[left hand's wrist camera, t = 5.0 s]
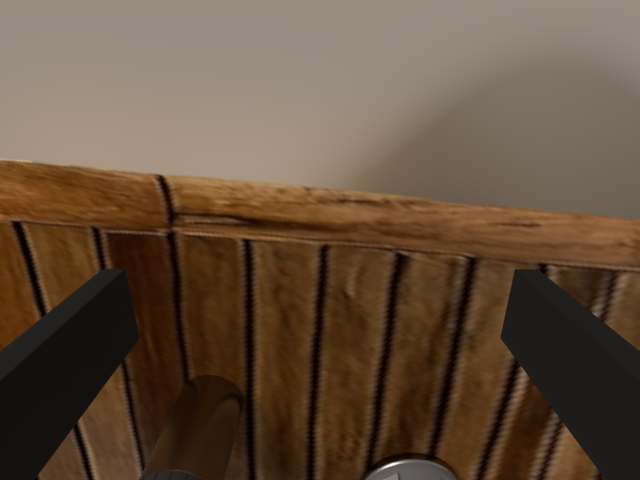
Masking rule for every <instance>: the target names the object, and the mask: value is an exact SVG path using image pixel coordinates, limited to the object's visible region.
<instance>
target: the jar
mask: <svg viewBox="0 0 640 480" xmlns="http://www.w3.org/2000/svg"><path fill="white" fill-rule="evenodd" d="M242 407H243V398H242V395H241V393H240V391H239V389H238V388H237V387H236V386H235V385H234V384H233V383H231V382H230V381H228V380H226V379H224V378H221V377H217V376H200V377H196V378H194V379H192V380H190V381H189V382H187V383H186V384H185V385H184V387H183V388H182V390H181V392H180V394H179V397H178V399H177V401H176V403H175V405H174V407H173V409H172V411H171V414H170V416H169V418H168V420H167V422H166V424H165V426H164V429H163V431H162V433H161V435H160V437H159V439H158V441H157V443H156V446H155V448H154V450H153V452H152V454H151V456H150V458H149V461H148V463H147V465H146V467H145V469H144V471H143V473H142V475H141V478H142V477H143V476H145V475H147V474H150V473H153V472H157V471H164V470H175V471H182V472H187V473H190V474H193V475H196V476H198V477H200V478H202V479H203V480H225V476H226V472H227V468H228V464H229V460H230V456H231V452H232V448H233V443H234V439H235V435H236V431H237V427H238V423H239V419H240V415H241V411H242Z"/></svg>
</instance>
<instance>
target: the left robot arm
mask: <svg viewBox="0 0 640 480" xmlns="http://www.w3.org/2000/svg"><path fill="white" fill-rule="evenodd" d="M138 339H139V333H138V329H137V324H136V319H135V314H134V310H133V305H132V300H131V295H130V291H129V286H128V281H127V276H126V272H125V269H102V270H101V271H100V272H99V273H97V274H96V275H95V276H94V277H92V278H91V279H90V280H89V281H87V282H86V283H85V284H84V285H82V286H81V287H80V288H79V289H77V290H76V291H75V292H74V293H72V294H71V295H70V296H69V297H67V298H66V299H65V300H64V301H62V302H61V303H60V304H59V305H57V306H56V307H55V308H54V309H52V310H51V311H50V312H49V313H48V314H46V315H45V316H44V317H43V318H41V319H40V320H39V321H38V322H36V323H35V324H34V325H33V326H31V327H30V328H29V329H28V330H26V331H25V332H24V333H23V334H21V335H20V336H19V337H18V338H16V339H15V340H14V341H13V342H11V343H10V344H9V345H8V346H6V347H5V348H4V349H3V350H1V351H0V480H34V479H35V478H36V477H37V475H38V474H39V473H40V471H41V470H42V469H43V467H44V466H45V465H46V463H47V462H48V461H49V459H50V458H51V457H52V455H53V454H54V453H55V451H56V450H57V448H58V447H59V446H60V444H61V443H62V442H63V440H64V439H65V438H66V436H67V435H68V434H69V432H70V431H71V430H72V428H73V427H74V426H75V424H76V423H77V422H78V420H79V419H80V417H81V416H82V415H83V413H84V412H85V411H86V409H87V408H88V407H89V405H90V404H91V403H92V401H93V400H94V399H95V397H96V396H97V395H98V393H99V392H100V391H101V389H102V388H103V386H104V385H105V384H106V382H107V381H108V380H109V378H110V377H111V376H112V374H113V373H114V372H115V370H116V369H117V368H118V366H119V365H120V364H121V362H122V361H123V360H124V358H125V357H126V355H127V354H128V353H129V351H130V350H131V349H132V347H133V346H134V345H135V343H136V342H137V341H138ZM501 339H502V341H503V342H504V343H505V345H506V346H507V347H508V349H509V350H510V351H511V353H512V354H513V355H514V357H515V358H516V360H517V361H518V362H519V364H520V365H521V366H522V368H523V369H524V370H525V372H526V373H527V374H528V376H529V377H530V378H531V380H532V381H533V382H534V384H535V385H536V386H537V388H538V389H539V391H540V392H541V393H542V395H543V396H544V397H545V399H546V400H547V401H548V403H549V404H550V405H551V407H552V408H553V409H554V411H555V412H556V413H557V415H558V416H559V417H560V419H561V420H562V422H563V423H564V424H565V426H566V427H567V428H568V430H569V431H570V432H571V434H572V435H573V436H574V438H575V439H576V440H577V442H578V443H579V444H580V446H581V447H582V448H583V450H584V451H585V453H586V454H587V455H588V457H589V458H590V459H591V461H592V462H593V463H594V465H595V466H596V467H597V469H598V470H599V471H600V473H601V474H602V475H603V477H604V478H605V479H606V480H640V351H639V350H637V349H636V348H635V347H634V346H632V345H631V344H630V343H629V342H627V341H626V340H625V339H624V338H622V337H621V336H620V335H619V334H617V333H616V332H615V331H614V330H612V329H611V328H610V327H609V326H607V325H606V324H605V323H604V322H602V321H601V320H600V319H599V318H597V317H596V316H595V315H594V314H592V313H591V312H590V311H589V310H588V309H586V308H585V307H584V306H583V305H581V304H580V303H579V302H578V301H576V300H575V299H574V298H573V297H571V296H570V295H569V294H568V293H566V292H565V291H564V290H563V289H561V288H560V287H559V286H558V285H556V284H555V283H554V282H553V281H551V280H550V279H549V278H548V277H546V276H545V275H544V274H543V273H541V272H540V271H539V270H538V269H515V272H514V276H513V281H512V286H511V291H510V295H509V300H508V305H507V310H506V314H505V319H504V324H503V329H502V333H501ZM361 480H458V479H457V476H456V474H455V472H454V471H453V469H452V468H451V467H450V466H449V465H447V464H446V463H445V462H443V461H441V460H439V459H437V458H435V457H432V456H428V455H423V454H402V455H396V456H392V457H389V458H386V459H384V460H382V461H380V462H378V463H376V464H375V465H373V466H372V467H370V468H369V469H368V470H367V471H366V472H365V473H364V475H363V476H362V478H361Z"/></svg>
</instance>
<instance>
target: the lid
mask: <svg viewBox="0 0 640 480" xmlns="http://www.w3.org/2000/svg"><path fill="white" fill-rule="evenodd" d="M139 480H203V479H202V478H200V477H198V476H196V475H193V474H190V473H187V472H182V471H175V470H164V471H157V472H153V473H150V474H147V475H145V476H143V477H142V478H140V479H139Z"/></svg>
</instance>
